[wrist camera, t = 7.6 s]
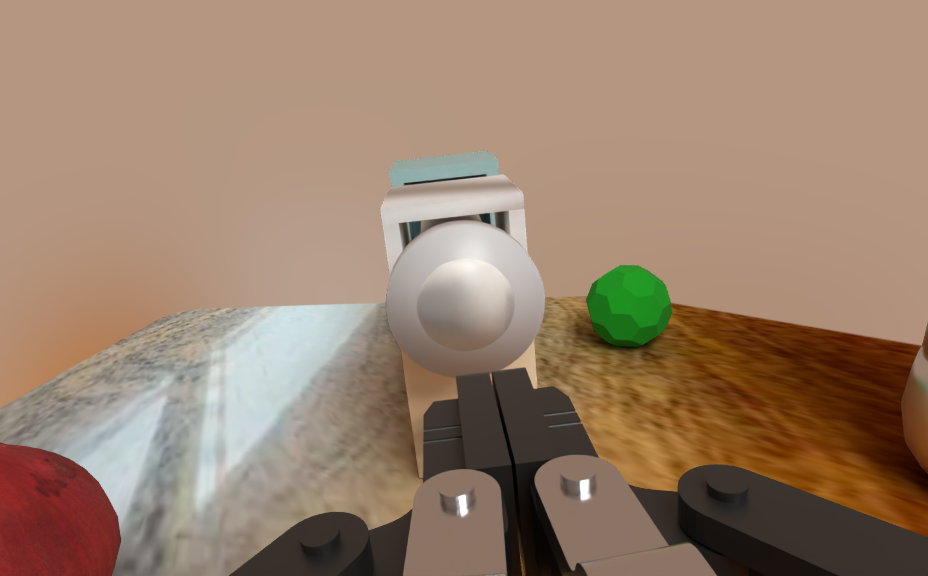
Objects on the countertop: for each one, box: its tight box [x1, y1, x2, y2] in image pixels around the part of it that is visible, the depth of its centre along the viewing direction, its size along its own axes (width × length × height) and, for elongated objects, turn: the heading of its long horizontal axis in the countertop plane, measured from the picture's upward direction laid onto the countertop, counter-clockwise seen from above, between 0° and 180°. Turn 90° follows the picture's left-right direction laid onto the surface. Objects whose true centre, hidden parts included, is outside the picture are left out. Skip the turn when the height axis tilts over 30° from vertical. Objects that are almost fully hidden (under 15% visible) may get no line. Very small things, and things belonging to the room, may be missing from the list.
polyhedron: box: [586, 265, 672, 348], centre depth 37 cm, size 5×5×5 cm
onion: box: [0, 443, 121, 576], centre depth 18 cm, size 6×6×8 cm
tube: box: [386, 214, 545, 378], centre depth 28 cm, size 18×5×5 cm, turn 3°
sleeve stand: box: [380, 175, 537, 478], centre depth 27 cm, size 6×5×12 cm
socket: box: [389, 151, 499, 242], centre depth 38 cm, size 6×6×12 cm
